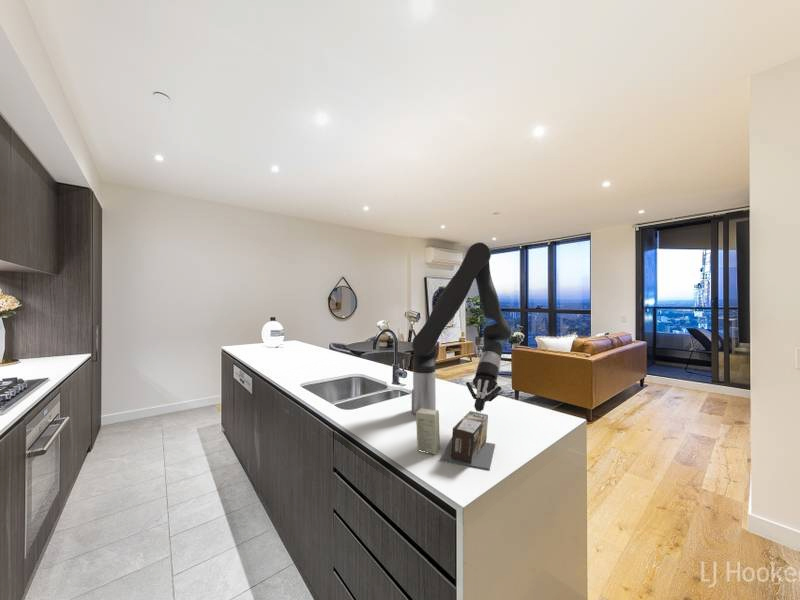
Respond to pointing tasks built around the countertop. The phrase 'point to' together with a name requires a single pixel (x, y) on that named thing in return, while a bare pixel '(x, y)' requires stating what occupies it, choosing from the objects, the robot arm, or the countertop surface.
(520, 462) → the countertop surface
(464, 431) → the coffee box
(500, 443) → the countertop surface
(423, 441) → the skincare box
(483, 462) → the mat
